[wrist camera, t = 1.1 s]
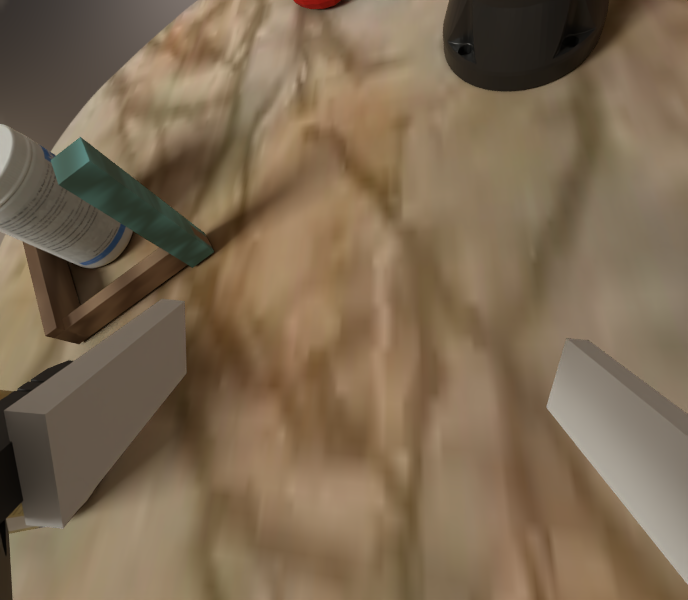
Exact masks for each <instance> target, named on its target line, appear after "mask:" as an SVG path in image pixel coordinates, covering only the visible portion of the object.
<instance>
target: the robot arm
mask: <svg viewBox="0 0 688 600" xmlns="http://www.w3.org/2000/svg"><path fill="white" fill-rule="evenodd" d="M608 3H609V0H449V3H448V7H447V11H446V15H445V19H444V24H443V41H444V53H445V57H446V60H447V63H448V65H449V66H450V68H451V69H452V71H453V72H454V73H455V74H456V75H457V76H458V77H460V78H461V79H462V80H464V81H465V82H467V83H469V84H471V85H474V86H476V87H479V88H483V89H487V90H494V91H518V90H525V89H530V88H534V87H538V86H541V85H544V84H547V83H549V82H552V81H554V80H556V79H558V78H560V77H562V76H564V75H565V74H567V73H569V72H570V71H572V70H573V69H574V68H576V67H577V66H578V65H579V64H581V63H582V62H583V61H584V60H585V59H586V58H587V57H588V55H589V54H590V53H591V52H592V50H593V49H594V47H595V46H596V44H597V42H598V40H599V38H600V35H601V32H602V29H603V25H604V22H605V19H606V15H607V11H608ZM186 373H187V369H186V335H185V301H178V300H168V299H161V300H160V301H158V302H157V303H156V304H154V305H153V306H151V307H150V308H148V309H147V310H146V311H144V312H143V313H141V314H140V315H138V316H137V317H136V318H134V319H133V320H131V321H130V322H129V323H127V324H126V325H124V326H123V327H121V328H120V329H119V330H117V331H116V332H114V333H113V334H112V335H110V336H109V337H107V338H106V339H104V340H103V341H102V342H100V343H99V344H97V345H96V346H95V347H93V348H92V349H90V350H89V351H87V352H86V353H85V354H83V355H82V356H80V357H79V358H78V359H76V360H75V361H69V360H68V361H66V362H63V363H61V364H58V365H56V366H53V367H51V368H48V369H46V370H45V371H43V372H42V373H40V374H39V375H37V376H36V377H34V378H33V379H31V382H27V383H25V384H24V385H22V386H21V387H19V388H18V390H17V391H13V392H12V393H10V394H9V395H7V396H6V397H4V398H3V399H1V400H0V600H12V582H11V564H10V547H9V531H8V526H7V521H6V518H7V517H8V516H9V515H10V514H11V513H12V512H13V511H14V510H15V509H16V508H17V507H18V506H19V505H20V504H21V503H22V507H23V512H24V517H25V523H26V525H30V526H42V527H53V528H64V527H65V525H66V524H67V523H68V522H69V520H70V519H71V518H72V517H73V515H74V514H75V513H76V512H77V510H78V509H79V508H80V507H81V505H82V504H83V503H84V502H85V500H86V499H87V498H88V497H89V495H90V494H91V493H92V492H93V490H94V489H95V488H96V486H97V485H98V484H99V483H100V481H101V480H102V479H103V478H104V476H105V475H106V474H107V473H108V471H109V470H110V469H111V468H112V466H113V465H114V464H115V463H116V461H117V460H118V459H119V458H120V456H121V455H122V454H123V453H124V451H125V450H126V449H127V447H128V446H129V445H130V444H131V442H132V441H133V440H134V439H135V437H136V436H137V435H138V434H139V432H140V431H141V430H142V429H143V427H144V426H145V425H146V424H147V422H148V421H149V420H150V419H151V417H152V416H153V415H154V414H155V412H156V411H157V410H158V408H159V407H160V406H161V405H162V403H163V402H164V401H165V400H166V398H167V397H168V396H169V395H170V393H171V392H172V391H173V390H174V388H175V387H176V386H177V385H178V383H179V382H180V381H181V380H182V378H183V377H184V376H185V375H186ZM547 409H548V410H549V411H550V412H551V414H552V415H553V416H554V418H555V419H556V420H557V421H558V423H559V424H560V425H561V426H562V428H563V429H564V430H565V431H566V433H567V434H568V435H569V436H570V438H571V439H572V440H573V441H574V443H575V444H576V445H577V446H578V448H579V449H580V450H581V451H582V453H583V454H584V455H585V456H586V458H587V459H588V460H589V461H590V463H591V464H592V465H593V466H594V468H595V469H596V470H597V471H598V473H599V474H600V475H601V476H602V478H603V479H604V480H605V481H606V483H607V484H608V485H609V486H610V488H611V489H612V490H613V491H614V493H615V494H616V495H617V496H618V498H619V499H620V500H621V501H622V503H623V504H624V505H625V507H626V508H627V509H628V510H629V512H630V513H631V514H632V515H633V517H634V518H635V519H636V520H637V522H638V523H639V524H640V525H641V527H642V528H643V529H644V530H645V532H646V533H647V534H648V535H649V537H650V538H651V539H652V540H653V542H654V543H655V544H656V545H657V547H658V548H659V549H660V550H661V552H662V553H663V554H664V555H665V557H666V558H667V559H668V560H669V562H670V563H671V564H672V565H673V567H674V568H675V569H676V570H677V572H678V573H679V574H680V575H681V577H682V578H683V579H684V580H685V582H686V583H687V584H688V414H687V413H686V412H684V411H683V410H681V409H680V408H679V407H677V406H676V405H675V404H673V403H672V402H671V401H669V400H668V399H667V398H665V397H664V396H663V395H661V394H660V393H659V392H657V391H656V390H655V389H653V388H652V387H651V386H649V385H648V384H647V383H645V382H644V381H643V380H641V379H640V378H639V377H637V376H636V375H635V374H633V373H632V372H630V371H629V370H628V369H626V368H625V367H624V366H622V365H621V364H620V363H618V362H617V361H616V360H614V359H613V358H612V357H610V356H609V355H608V354H606V353H605V352H604V351H602V350H601V349H600V348H598V347H597V346H596V345H594V344H593V343H592V342H590V341H589V340H581V339H571V338H566V342H565V345H564V348H563V352H562V355H561V359H560V362H559V366H558V369H557V372H556V376H555V379H554V383H553V386H552V390H551V393H550V396H549V400H548V403H547Z"/></svg>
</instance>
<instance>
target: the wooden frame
mask: <svg viewBox="0 0 688 600" xmlns="http://www.w3.org/2000/svg"><path fill="white" fill-rule="evenodd" d="M51 163H52V167H53V170H54V173H55V176H56V179H57V182H58V185H59V186H61V187H63V188H64V189H66V190H68V191H69V192H71V193H72V194H74V195H76V196H77V197H79V198H81V199H82V200H84V201H85V202H87V203H89V204H90V205H92V206H93V207H95V208H97V209H98V210H100V211H102V212H103V213H105V214H106V215H108V216H110V217H111V218H113V219H114V220H116V221H118V222H119V223H121V224H123V225H124V226H126V227H127V228H129V229H131V230H132V231H134V232H136V233H137V234H139V235H140V236H142V237H144V238H145V239H147V240H148V241H150V242H152V243H153V244H155V245H157V246H158V247H159V248H158V249H156V250H155V251H154V252H152V253H151V254H150V255H148V256H147V257H146V258H144V259H143V260H142V261H140V262H139V263H138V264H136V265H135V266H134V267H132V268H131V269H129V270H128V271H127V272H125V273H124V274H123V275H121V276H120V277H119V278H117V279H116V280H115V281H113V282H112V283H111V284H109V285H108V286H106V287H105V288H104V289H102V290H101V291H100V292H98V293H97V294H96V295H94V296H93V297H92V298H90V299H89V300H88V301H86V302H85V303H83V304H82V305H81V306H80V304H79V300H78V297H77V294H76V290H75V287H74V283H73V280H72V277H71V273H70V270H69V267H68V263H67V260H65V259H62V258H60V257H58V256H55V255H53V254H51V253H48V252H46V251H44V250H41V249H39V248H37V247H34V246H32V245H30V244H28V243H25V242H23V245H24V249H25V253H26V257H27V261H28V266H29V270H30V274H31V278H32V282H33V286H34V291H35V295H36V299H37V303H38V307H39V311H40V315H41V320H42V324H43V328H44V332H45V336H48V337H52V338H56V339H60V340H64V341H68V342H72V343H76V344H80V343H81V342H83V341H84V340H86V339H87V338H88V337H90V336H91V335H92V334H94V333H95V332H96V331H98V330H99V329H101V328H102V327H103V326H105V325H106V324H107V323H109V322H110V321H111V320H113V319H114V318H116V317H117V316H118V315H120V314H121V313H122V312H124V311H125V310H127V309H128V308H129V307H131V306H132V305H133V304H135V303H136V302H137V301H139V300H140V299H142V298H143V297H144V296H146V295H147V294H148V293H150V292H151V291H152V290H154V289H155V288H157V287H158V286H159V285H161V284H162V283H163V282H165V281H166V280H167V279H169V278H170V277H172V276H173V275H174V274H176V273H177V272H178V271H180V270H181V269H183V268H184V267H185V266H187V265H189V266H191V267H192V268H193V267H194V266H196V265H197V264H198V263H200V262H201V261H202V260H204V259H205V258H207V257H208V256H209V255H211V254H212V253H213V252H214V250H213V248H212V246H211V244H210V242H209V241H208V239H207V237H206V235H205V233H204V232H203V231H201V230H200V229H199V228H197V227H196V226H195V225H193V224H192V223H191V222H190V221H188V220H187V219H186V218H184V217H183V216H182V215H181V214H179V213H178V212H177V211H175V210H174V209H173V208H172V207H170V206H169V205H168V204H166V203H165V202H164V201H162V200H161V199H160V198H159V197H157V196H156V195H155V194H153V193H152V192H151V191H150V190H148V189H147V188H146V187H144V186H143V185H142V184H140V183H139V182H138V181H137V180H135V179H134V178H133V177H131V176H130V175H129V174H128V173H126V172H125V171H124V170H122V169H121V168H120V167H119V166H117V165H116V164H115V163H113V162H112V161H111V160H109V159H108V158H107V157H106V156H104V155H103V154H102V153H100V152H99V151H98V150H97V149H95V148H94V147H93V146H91V145H90V144H89V143H87V142H86V141H85V140H84V139H82V138H81V137H80V138H79V139H77V140H76V141H75V142H73V143H72V144H71V145H70V146H68V147H67V148H66V149H64V150H63V151H62V152H60V153H59V154H58V155H57V156H55V157H54V158H53V159H51Z"/></svg>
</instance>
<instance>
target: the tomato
mask: <svg viewBox="0 0 688 600" xmlns="http://www.w3.org/2000/svg"><path fill="white" fill-rule="evenodd" d="M340 1H341V0H294V2H295V3H297V4H298V5H300V6H302V7H305V8H309V9H325V8H328V7H331V6H334V5H336V4H337V3H338V2H340Z"/></svg>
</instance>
